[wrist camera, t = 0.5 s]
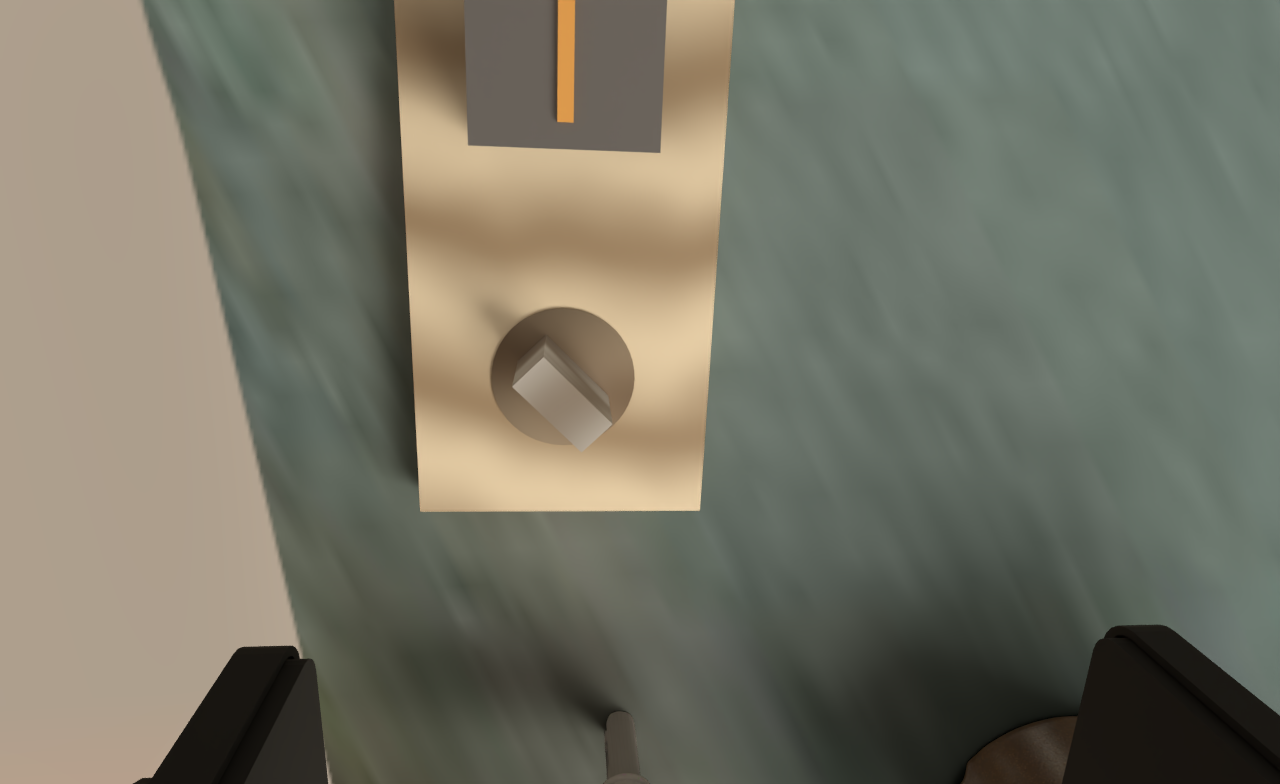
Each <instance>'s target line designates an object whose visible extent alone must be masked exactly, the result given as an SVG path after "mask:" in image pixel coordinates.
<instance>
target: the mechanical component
mask: <svg viewBox="0 0 1280 784" xmlns="http://www.w3.org/2000/svg"><path fill="white" fill-rule="evenodd" d="M606 726H607V731H604V735H605V752H606V766H607V780H606V781H605V782H604V783H603V784H650V783H649V782H648V781H647V780H646V779H645V778H644V777H642V776H640V768H639V759H638V750H637V741H636V733H635V725H634V721H633V718H632V716H631V715H630V714H629V713H626V712H623V711H617V712H614V713H612V714H610V715H609V717H608V720H607V723H606Z"/></svg>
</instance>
